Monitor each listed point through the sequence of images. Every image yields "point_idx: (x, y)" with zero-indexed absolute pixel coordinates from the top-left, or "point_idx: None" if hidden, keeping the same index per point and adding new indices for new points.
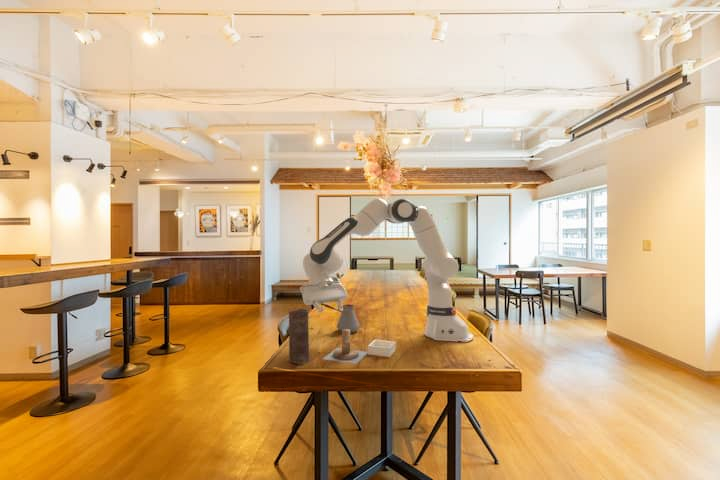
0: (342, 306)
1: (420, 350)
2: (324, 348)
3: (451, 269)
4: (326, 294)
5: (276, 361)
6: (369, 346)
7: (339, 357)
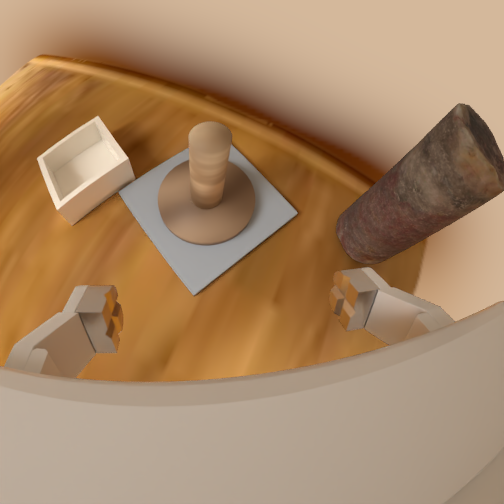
0: (75, 287)
1: (11, 159)
2: (238, 335)
3: None
4: (317, 460)
5: (410, 279)
6: (125, 156)
7: (246, 177)
